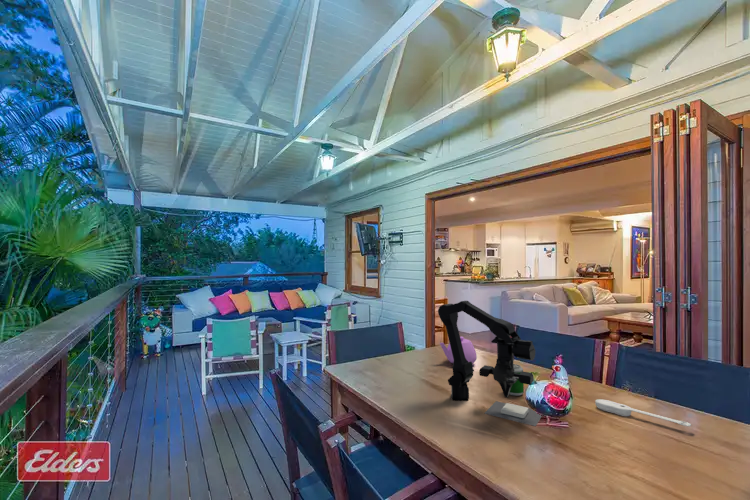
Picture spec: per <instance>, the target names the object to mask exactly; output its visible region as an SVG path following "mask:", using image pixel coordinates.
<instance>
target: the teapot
mask: <svg viewBox="0 0 750 500" xmlns="http://www.w3.org/2000/svg"><path fill="white" fill-rule="evenodd" d="M460 339H461V343H462V347H463V351H464V355H465V358H466V360H467V361H468V362H470V361H471V362H472V367H473V366H474V365H473V364H475V362H476V361H477V352H476V349H475V347H474V344H473V343H472V341H471V340H470V339H468V338H465V337H464V336H462V335H460ZM439 345H440V347H441V349H442V352H443V353H444V355H445V356H446V358H447V360H448V362H449V363H450V364H453V363H454V359H453V355H452V351H451V346H450V342H449V343H448V344H447V347H446V345H445V343H444V342H439Z"/></svg>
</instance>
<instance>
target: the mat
mask: <svg viewBox="0 0 750 500" xmlns="http://www.w3.org/2000/svg"><path fill="white" fill-rule="evenodd" d="M506 403H507V402H501V401H497V400H495V402H494V403H492V404H491V406H489V408H488V409H487V410H485V412H484V414H485V415H488V416H493V417H496V418H497V417H498V418H501V419H504V420H509V421H513V422H517V423H521V424H525V425H528V426H529V425H530V426H532V427H536V426H537V425H538V424H539V422H540V420H541V418H542V416H543V415H542V416H541V415H539V414H537V413H536V412H535V411H533V410H532V409H533V408H529V412H528V413H527V415H526V416H525V418H519V417H515V416H511V415H507V414H503V413H501V409H502V408H503V407H504V406H505V404H506Z"/></svg>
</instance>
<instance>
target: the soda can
mask: <svg viewBox="0 0 750 500" xmlns="http://www.w3.org/2000/svg"><path fill="white" fill-rule="evenodd" d="M513 364H514V373H518V374H520V373H521V372H522V371H523V372H524V368H523V367H522V366H521V365H520V364H518V363H517V364H516V363H513ZM524 385H525V384H523V383H520V381H519V379H518V380H517V381H516V382H515V383H514V384H513V385H512V387H511V390H510V393H509V395H510V396H515V397H517V396H522V395H524V394H525V393H524V392H525V390H524V389H525V388H524V387H525V386H524Z"/></svg>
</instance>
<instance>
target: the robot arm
mask: <svg viewBox="0 0 750 500" xmlns="http://www.w3.org/2000/svg"><path fill="white" fill-rule="evenodd" d="M437 312H438V313H437V314H438V316H439V318H440V321H441V323H442V324H443V325H444V326H445V331H446V333H447V337H448V341H449V343H450V346H451V351H452V355H453V359H454V363H452V376H450V377H449V378H448V379H447V382H448V385H449V386H450V387H451V388H450V389H451V390H450V391H451V394H450V397H451V401H455V402H468V401H469V398H470V389H469V386H468V384H467V383H469V382H470V381H471V379H473V376H474V372H475V369H474V367H473V366H472V365H473V364H472V362H471V361H470V362H468V361H467V360H466V358H465V355H464V351H463V347H462V343H461V339H460V336H461V335H460V331H459V328H458V320H459V313H461V312H463V313H465V314H466V315H469V316H470V317H472V318H473V319H474V320H476V321H478V322H479V323H481V324H483V325H484V326H486V327H487V328H488V330H489V331H490V332H491V333H492V334H493V335H495V337H494V338H493V339H492V340H491V343H492V344H496V352H497V353H496V357H497V358H496V363H495V365H494V366H491V365H486V364H485V365H483V366H482V367H481V368H480V369H479V372H478V374H479V376H480V377H486V378H488V377H489V376H490V375H491V376H492V375H493V376H492V377H493V380H494V381H496V382H497V383H498V384H499V386H500V387H501V391H502V393H503V395H504V398H508V397H509V395H510V394H509V393H510V390H511V387H512V385H513V384H514V383H515V382H516V381H517V380H518V379H519V381H520V383H523V384H524V385H531V384H532V383H533V382H534V381H535V380H534V379H535V378H534V374H533V373H532V372H528V371H524V370H523V371H522V372H521V373H520V374H518V373H514V364H515V363H514V362H515V358H516V359H521V360H527V361H534V359H535V358H536V349H535V345H534V343H533V340H523V339H521V337H520V335H519V334H518V333H517V332H516V330H515V327H514V326H515V325H514V324H513V323H512V322H510V321H508V320H505V319H502V318H498V317H496V316H495V317H494V316H493V315H491V314H489V313H488V312H486V311H484V310H482V309H481V308H480V307H477V306H476V305H474V304H473V303H471V302H470V301H469V300H461V301H459V302H457V303H446V304H445V303H444V304H442V305H439V307H438V309H437Z"/></svg>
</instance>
